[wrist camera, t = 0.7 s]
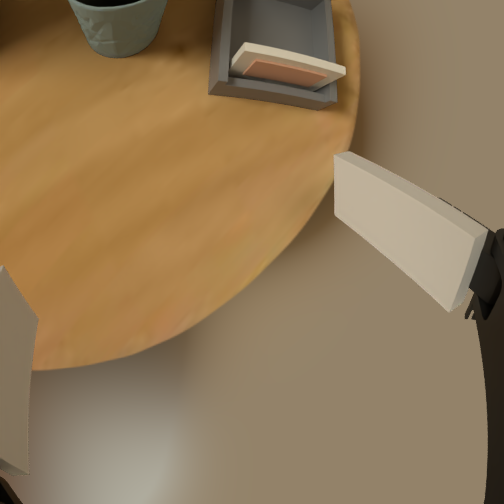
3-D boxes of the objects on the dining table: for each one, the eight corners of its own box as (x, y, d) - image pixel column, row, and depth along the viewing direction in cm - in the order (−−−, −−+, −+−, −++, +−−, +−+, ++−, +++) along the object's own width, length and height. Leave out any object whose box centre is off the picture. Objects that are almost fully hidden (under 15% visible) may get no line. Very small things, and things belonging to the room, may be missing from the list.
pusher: (312, 93, 35) (346, 77, 28) (223, 78, 31) (244, 53, 25) (312, 84, 35) (345, 66, 28) (224, 68, 31) (245, 42, 24)
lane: (317, 110, 37) (350, 97, 30) (208, 94, 32) (224, 71, 25) (313, 10, 34) (340, -12, 28) (217, -13, 29) (233, -44, 23)
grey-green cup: (181, 29, 29) (203, -31, 18) (113, 82, 28) (106, 29, 17) (129, -13, 26) (135, -76, 15) (62, 35, 24) (43, -23, 13)
